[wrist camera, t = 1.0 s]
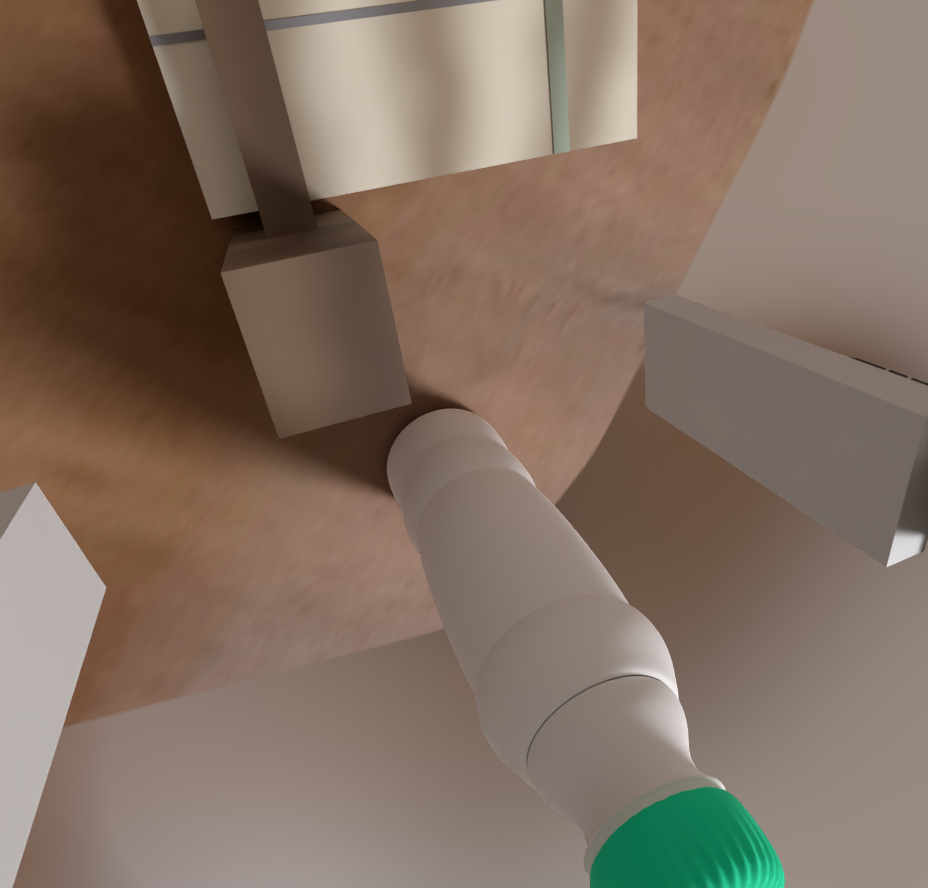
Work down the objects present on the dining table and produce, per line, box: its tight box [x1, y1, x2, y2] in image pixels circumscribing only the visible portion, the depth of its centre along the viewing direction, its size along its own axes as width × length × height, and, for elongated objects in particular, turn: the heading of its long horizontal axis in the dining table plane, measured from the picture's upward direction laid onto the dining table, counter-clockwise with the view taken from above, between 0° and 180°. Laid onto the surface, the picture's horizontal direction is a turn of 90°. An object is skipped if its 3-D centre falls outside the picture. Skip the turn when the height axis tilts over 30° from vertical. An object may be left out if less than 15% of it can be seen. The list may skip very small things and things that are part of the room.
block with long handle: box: [195, 0, 412, 439], centre depth 22 cm, size 5×14×10 cm, turn 8°
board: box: [137, 0, 637, 220], centre depth 24 cm, size 20×11×2 cm, turn 98°
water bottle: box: [387, 409, 785, 888], centre depth 25 cm, size 7×7×25 cm
